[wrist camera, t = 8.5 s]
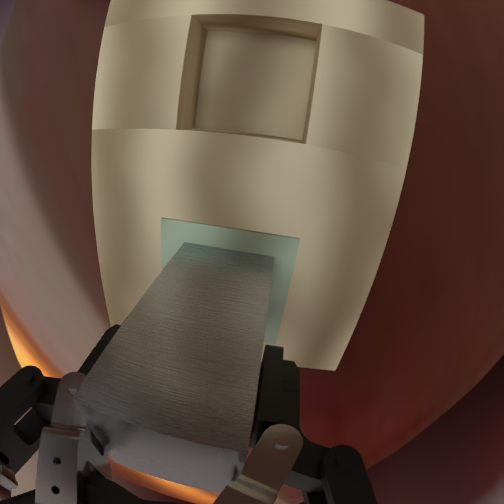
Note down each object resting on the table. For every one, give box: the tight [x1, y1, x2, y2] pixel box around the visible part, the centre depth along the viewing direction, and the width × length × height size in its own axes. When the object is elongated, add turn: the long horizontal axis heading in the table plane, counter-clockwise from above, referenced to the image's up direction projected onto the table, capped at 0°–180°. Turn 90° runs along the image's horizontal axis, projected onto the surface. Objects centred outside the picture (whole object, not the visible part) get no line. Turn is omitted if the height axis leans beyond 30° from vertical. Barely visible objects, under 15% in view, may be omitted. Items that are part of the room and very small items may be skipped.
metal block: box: [72, 242, 274, 493], centre depth 11 cm, size 5×5×10 cm
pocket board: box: [92, 0, 424, 370], centre depth 15 cm, size 16×22×4 cm
